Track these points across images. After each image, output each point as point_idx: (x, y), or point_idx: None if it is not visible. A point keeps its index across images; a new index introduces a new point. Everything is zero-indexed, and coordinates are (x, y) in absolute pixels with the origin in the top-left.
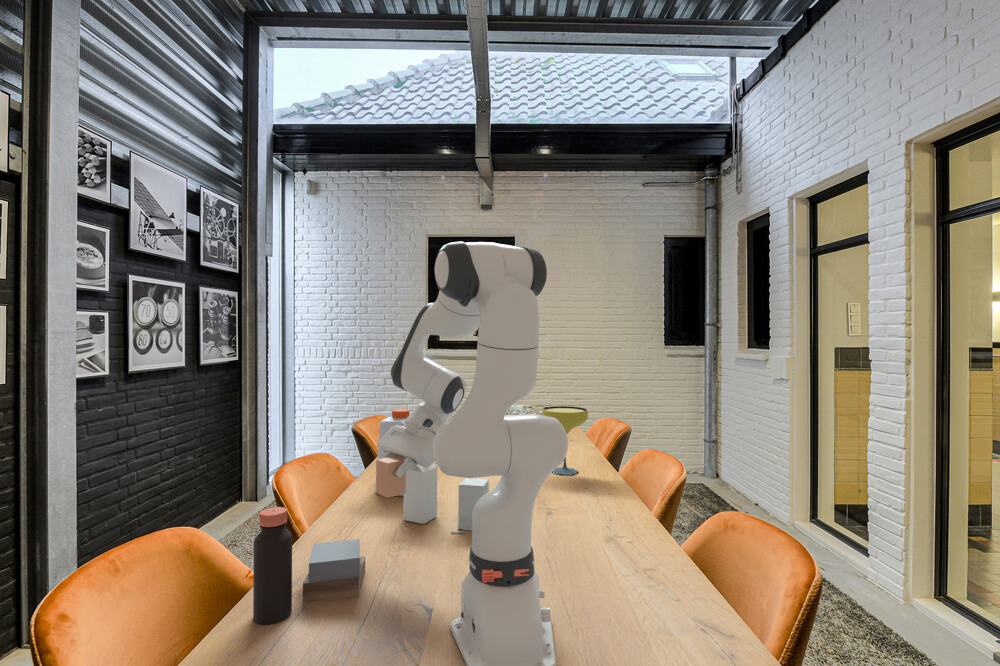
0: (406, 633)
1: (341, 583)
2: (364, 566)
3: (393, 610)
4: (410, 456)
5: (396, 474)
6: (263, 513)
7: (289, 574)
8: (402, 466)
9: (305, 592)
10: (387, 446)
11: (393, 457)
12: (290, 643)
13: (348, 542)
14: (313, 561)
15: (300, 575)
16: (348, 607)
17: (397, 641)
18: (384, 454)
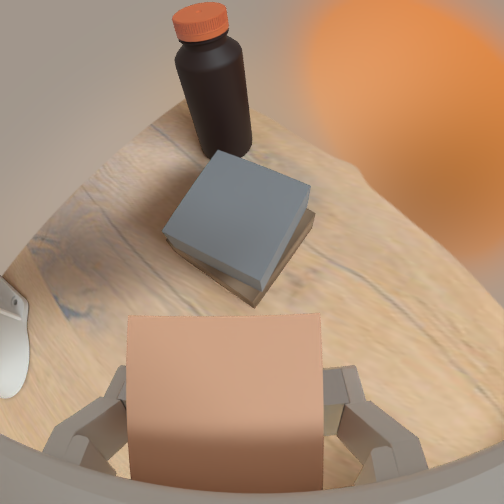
0: (57, 256)
1: None
2: (242, 297)
3: (103, 273)
4: (9, 438)
5: (122, 365)
6: (201, 4)
7: (193, 115)
8: (90, 407)
9: None
10: (440, 493)
11: (279, 473)
12: (149, 146)
13: (260, 248)
14: (219, 157)
15: (328, 209)
16: (161, 226)
17: (56, 239)
18: (415, 444)
